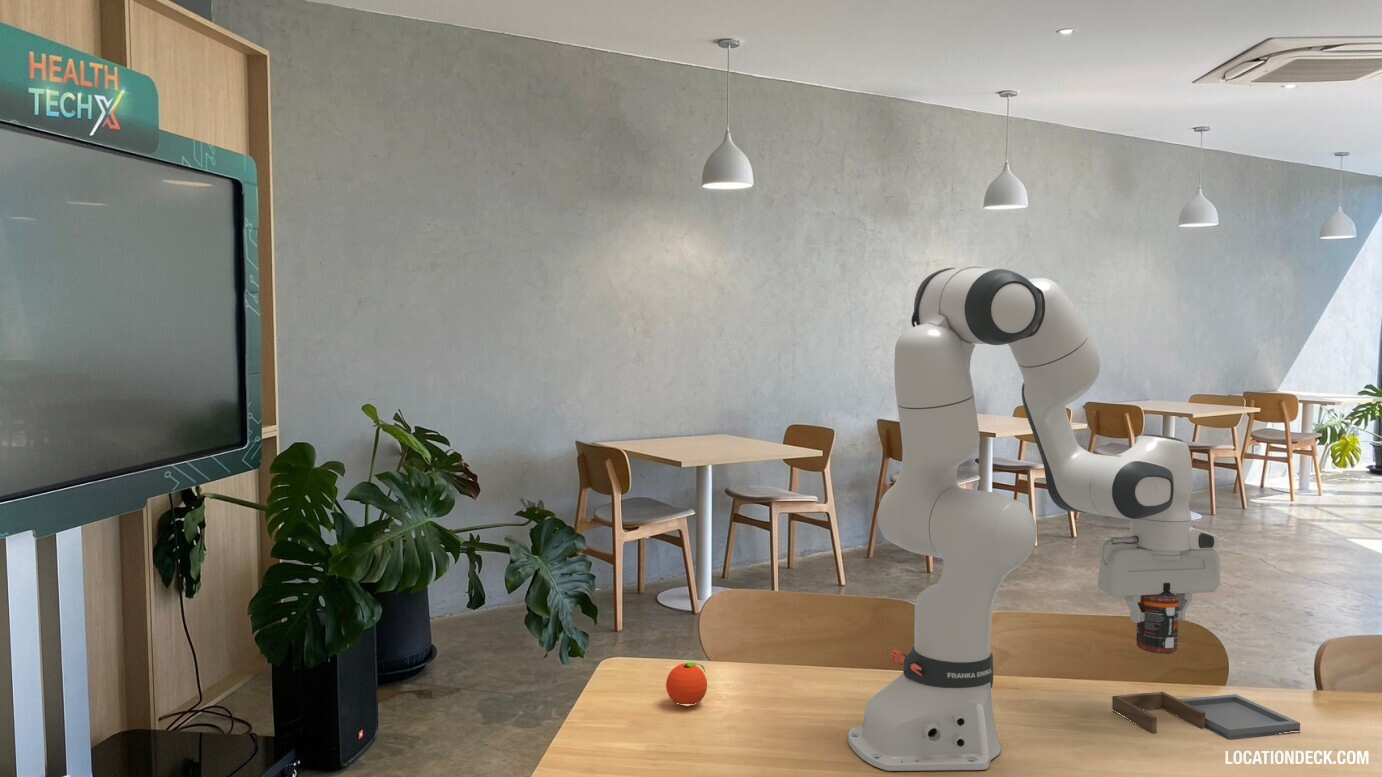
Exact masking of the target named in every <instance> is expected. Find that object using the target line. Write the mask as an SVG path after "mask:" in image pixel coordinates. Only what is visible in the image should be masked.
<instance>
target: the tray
mask: <svg viewBox="0 0 1382 777" xmlns="http://www.w3.org/2000/svg"><path fill="white" fill-rule="evenodd" d="M1178 699H1179V700H1181V701H1183V702H1185V703H1187V704H1189V705H1191V706H1193V707H1195V708H1197V709H1199V710H1202V711H1204V712H1205V728H1204V729H1207V730H1209V731H1212V732H1213V733H1215V734H1217V735H1219V736H1221V737H1223V738H1225V739H1227V740H1238V739H1248V738H1256V737H1257V738H1259V737H1265V736H1266V737H1268V736H1276V735H1275V734H1278V735H1280V734H1279V733H1284V732H1290V731H1300V732H1301V722H1299V721H1297V720H1295V719H1293V718H1290V717H1288V716H1286V715H1283V714H1282V713H1279V712H1276V711H1274V710H1272V709H1271V708H1268V707H1266V706H1263V705H1261V704H1259V703H1256V702H1254V701H1252V700H1249V699H1247V698H1245V697H1243V696H1241V695H1238V694H1236V693H1234V694H1233V693H1232V694H1223V695H1212V696H1200V697H1191V698H1190V697H1188V698H1187V697H1186V698H1178Z"/></svg>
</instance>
